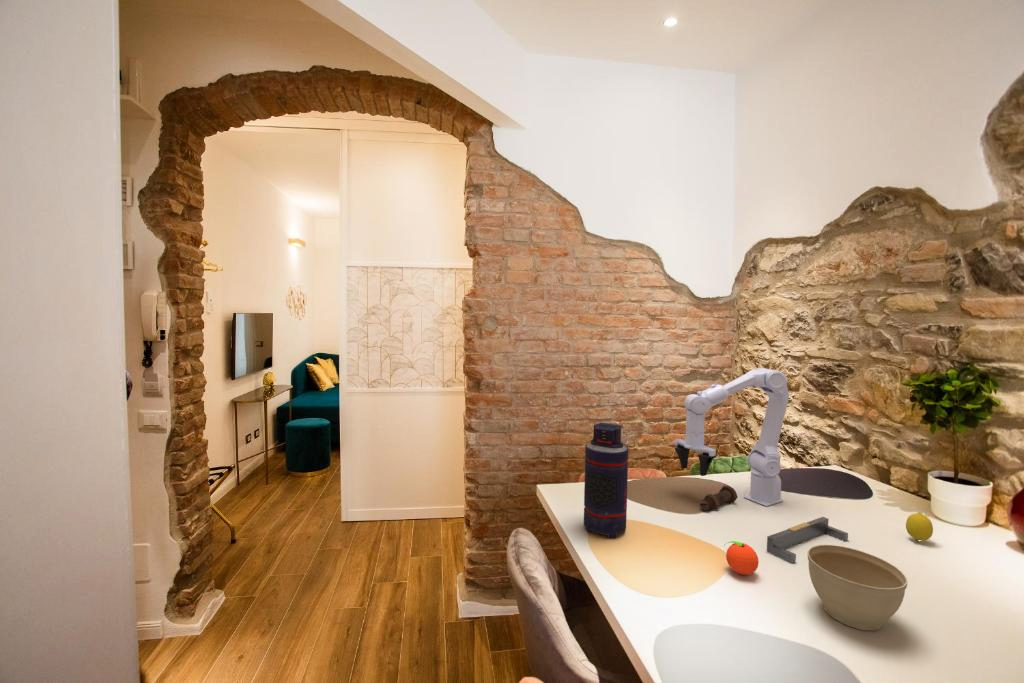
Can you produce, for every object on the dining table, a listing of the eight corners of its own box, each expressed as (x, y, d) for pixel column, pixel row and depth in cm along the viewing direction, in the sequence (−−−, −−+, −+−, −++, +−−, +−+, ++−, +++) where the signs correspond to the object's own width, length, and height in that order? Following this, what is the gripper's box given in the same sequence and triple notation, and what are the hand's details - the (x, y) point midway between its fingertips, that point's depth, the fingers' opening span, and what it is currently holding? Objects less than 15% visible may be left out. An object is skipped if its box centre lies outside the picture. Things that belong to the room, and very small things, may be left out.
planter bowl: (878, 655, 81) (882, 597, 81) (788, 604, 96) (791, 554, 95) (920, 628, 89) (923, 574, 88) (831, 584, 103) (833, 538, 103)
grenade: (618, 543, 121) (621, 432, 119) (576, 532, 127) (579, 426, 125) (633, 523, 132) (636, 422, 131) (595, 514, 139) (597, 417, 137)
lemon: (927, 539, 125) (928, 511, 125) (935, 548, 120) (937, 519, 120) (901, 534, 128) (903, 507, 127) (909, 543, 123) (911, 514, 122)
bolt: (700, 516, 142) (727, 504, 151) (714, 514, 138) (740, 501, 147) (692, 497, 144) (719, 486, 153) (705, 494, 140) (732, 483, 149)
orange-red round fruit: (715, 568, 109) (716, 540, 109) (729, 559, 113) (731, 532, 113) (749, 584, 103) (750, 554, 102) (763, 574, 107) (764, 545, 107)
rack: (822, 530, 130) (822, 515, 130) (847, 540, 124) (848, 525, 124) (766, 551, 117) (767, 535, 117) (792, 563, 112) (792, 547, 112)
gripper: (669, 427, 153) (667, 466, 154) (705, 438, 141) (704, 480, 141) (683, 425, 157) (682, 463, 158) (720, 435, 144) (718, 477, 145)
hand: (693, 471), depth 150 cm, fingers open, 7 cm apart
